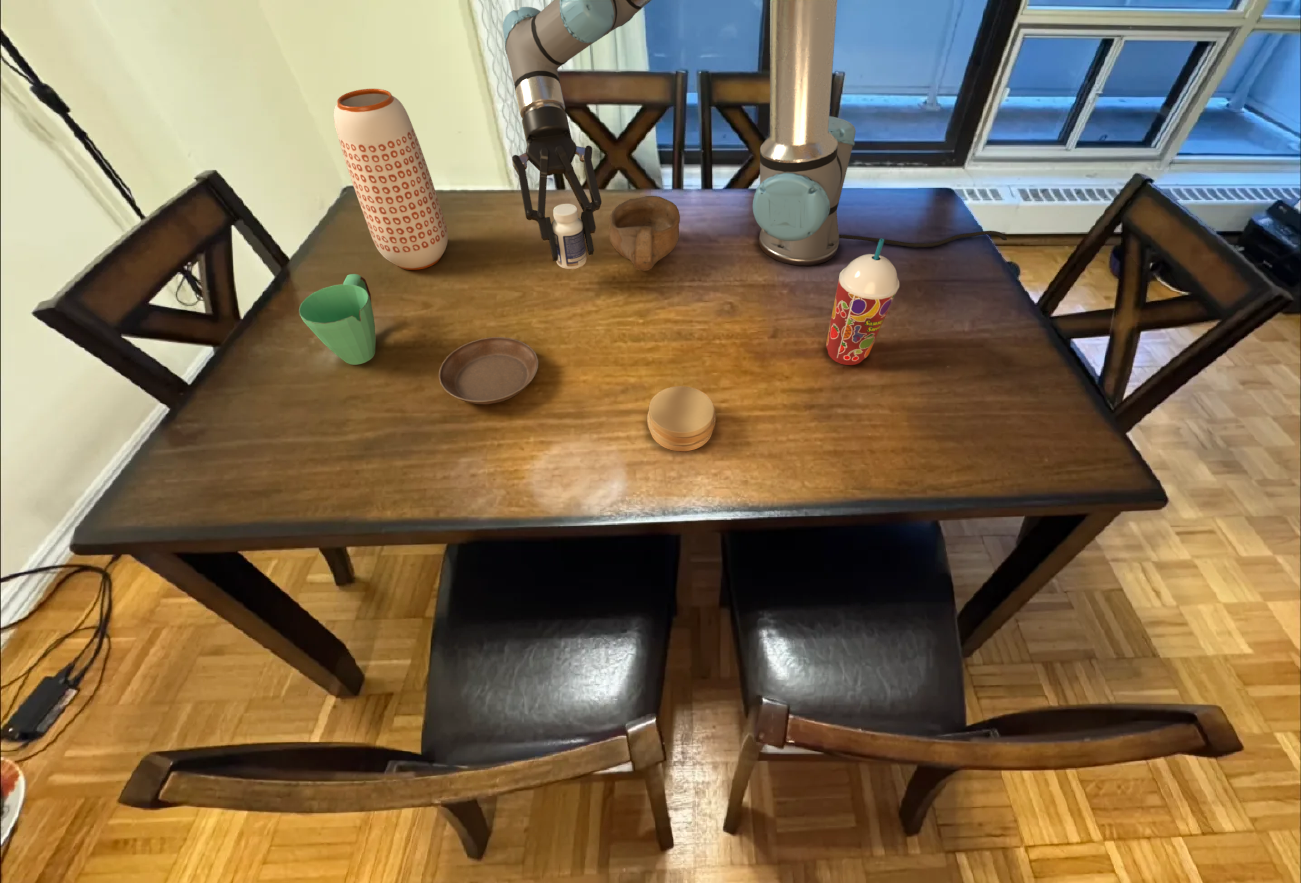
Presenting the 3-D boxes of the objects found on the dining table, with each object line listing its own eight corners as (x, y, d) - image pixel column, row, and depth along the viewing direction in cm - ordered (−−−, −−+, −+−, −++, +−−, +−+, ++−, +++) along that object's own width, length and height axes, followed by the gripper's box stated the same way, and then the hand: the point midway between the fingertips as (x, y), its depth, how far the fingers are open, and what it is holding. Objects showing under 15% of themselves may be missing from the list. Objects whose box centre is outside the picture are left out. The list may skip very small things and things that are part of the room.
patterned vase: (450, 235, 119) (405, 78, 98) (457, 269, 110) (410, 107, 89) (381, 246, 116) (320, 88, 95) (383, 282, 108) (317, 118, 87)
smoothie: (862, 378, 90) (903, 263, 75) (811, 359, 93) (841, 245, 78) (879, 348, 95) (921, 234, 80) (830, 331, 98) (861, 218, 83)
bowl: (701, 270, 107) (689, 222, 100) (629, 297, 109) (612, 252, 101) (678, 221, 119) (665, 175, 111) (613, 246, 120) (596, 202, 112)
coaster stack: (709, 402, 87) (711, 382, 84) (718, 451, 81) (721, 431, 78) (645, 405, 87) (645, 386, 84) (649, 455, 80) (649, 435, 77)
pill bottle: (591, 256, 105) (586, 204, 98) (579, 272, 102) (573, 219, 94) (564, 251, 106) (557, 199, 99) (551, 267, 103) (543, 214, 95)
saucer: (461, 346, 96) (456, 332, 94) (549, 352, 95) (547, 338, 93) (429, 410, 86) (423, 397, 84) (527, 418, 85) (524, 404, 83)
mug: (382, 374, 91) (357, 322, 84) (318, 376, 91) (288, 324, 84) (404, 316, 101) (384, 265, 93) (346, 318, 101) (321, 267, 93)
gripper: (595, 120, 102) (623, 253, 104) (489, 133, 99) (519, 270, 101) (600, 97, 95) (629, 240, 97) (485, 110, 92) (518, 258, 94)
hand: (573, 255), depth 99 cm, fingers closed on pill bottle, 5 cm apart
